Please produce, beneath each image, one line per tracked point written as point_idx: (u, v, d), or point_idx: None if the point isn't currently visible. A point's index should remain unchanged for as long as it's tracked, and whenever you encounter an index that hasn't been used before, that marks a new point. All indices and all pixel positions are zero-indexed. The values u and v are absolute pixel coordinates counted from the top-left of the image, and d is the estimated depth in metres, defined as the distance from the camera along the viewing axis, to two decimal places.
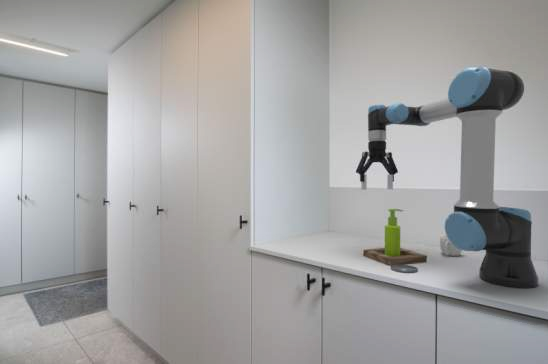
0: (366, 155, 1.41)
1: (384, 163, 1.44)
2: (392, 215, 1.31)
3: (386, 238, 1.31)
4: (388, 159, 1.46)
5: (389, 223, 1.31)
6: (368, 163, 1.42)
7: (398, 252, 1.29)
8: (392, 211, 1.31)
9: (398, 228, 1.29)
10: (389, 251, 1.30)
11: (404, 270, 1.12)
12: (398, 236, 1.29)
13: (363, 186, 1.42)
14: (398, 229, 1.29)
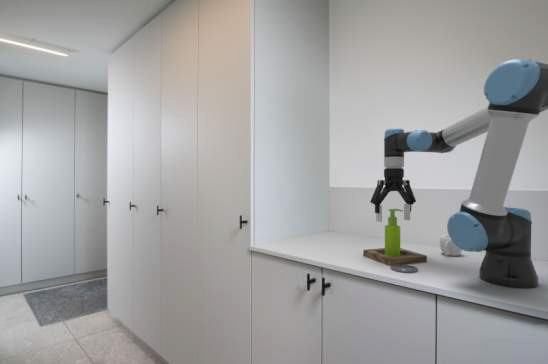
0: (382, 184, 1.28)
1: (401, 192, 1.32)
2: (392, 215, 1.31)
3: (386, 238, 1.31)
4: (405, 187, 1.34)
5: (389, 223, 1.31)
6: (384, 193, 1.29)
7: (398, 252, 1.29)
8: (392, 211, 1.31)
9: (398, 228, 1.29)
10: (389, 251, 1.30)
11: (404, 270, 1.12)
12: (398, 236, 1.29)
13: (378, 218, 1.29)
14: (398, 229, 1.29)
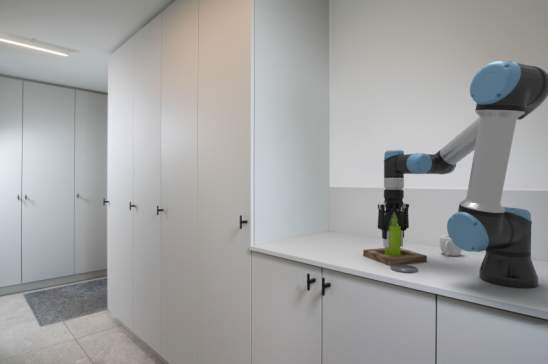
0: (383, 208, 1.28)
1: (398, 214, 1.31)
2: (392, 215, 1.31)
3: None
4: (403, 211, 1.33)
5: (389, 223, 1.31)
6: (387, 217, 1.29)
7: (398, 252, 1.29)
8: None
9: (398, 228, 1.29)
10: (389, 250, 1.30)
11: (404, 270, 1.12)
12: (398, 236, 1.29)
13: (385, 243, 1.30)
14: (398, 229, 1.29)
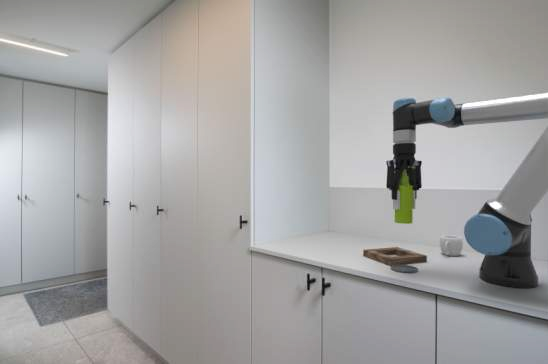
0: (392, 165, 1.13)
1: (409, 172, 1.16)
2: (403, 173, 1.15)
3: None
4: (415, 169, 1.18)
5: (400, 182, 1.15)
6: (397, 174, 1.14)
7: (410, 214, 1.14)
8: None
9: (410, 187, 1.14)
10: (399, 213, 1.14)
11: (404, 270, 1.12)
12: (410, 196, 1.14)
13: (395, 205, 1.15)
14: (410, 188, 1.14)
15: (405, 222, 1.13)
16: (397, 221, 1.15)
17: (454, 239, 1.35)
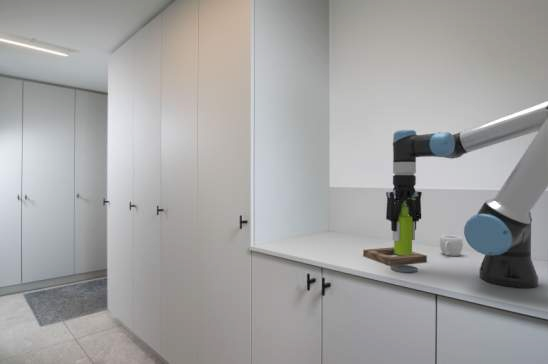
0: (392, 197, 1.13)
1: (409, 203, 1.16)
2: (403, 204, 1.16)
3: None
4: (415, 199, 1.18)
5: None
6: (397, 206, 1.14)
7: (410, 246, 1.14)
8: None
9: (410, 218, 1.14)
10: (399, 244, 1.14)
11: (404, 270, 1.12)
12: (410, 228, 1.14)
13: (395, 236, 1.15)
14: (410, 220, 1.14)
15: (405, 254, 1.13)
16: (397, 252, 1.15)
17: (454, 239, 1.35)
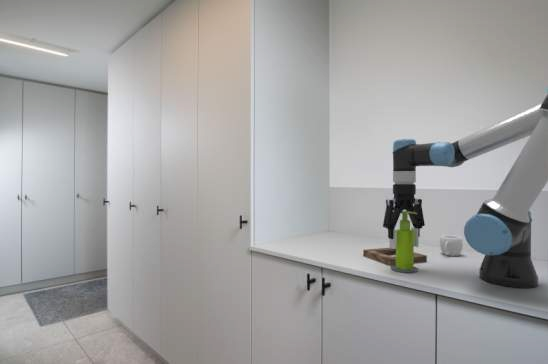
0: (392, 204, 1.13)
1: None
2: (405, 218, 1.15)
3: (398, 244, 1.15)
4: (416, 207, 1.18)
5: (401, 227, 1.15)
6: (396, 214, 1.14)
7: (411, 260, 1.14)
8: (405, 214, 1.15)
9: (411, 233, 1.14)
10: (401, 258, 1.14)
11: (404, 270, 1.12)
12: (411, 242, 1.14)
13: (392, 244, 1.14)
14: (411, 234, 1.14)
15: (406, 268, 1.13)
16: (398, 266, 1.15)
17: (454, 239, 1.35)
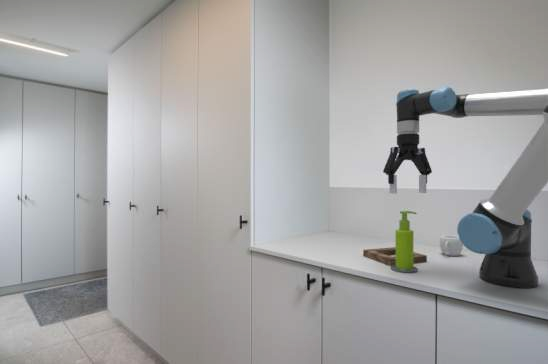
0: (396, 151, 1.14)
1: (416, 161, 1.19)
2: (404, 218, 1.15)
3: (397, 244, 1.15)
4: (420, 156, 1.20)
5: (401, 227, 1.15)
6: (398, 161, 1.15)
7: (411, 260, 1.14)
8: (404, 214, 1.15)
9: (411, 233, 1.14)
10: (401, 258, 1.14)
11: (404, 270, 1.12)
12: (411, 242, 1.14)
13: (392, 189, 1.15)
14: (411, 234, 1.14)
15: (406, 268, 1.13)
16: (398, 267, 1.15)
17: (454, 239, 1.35)
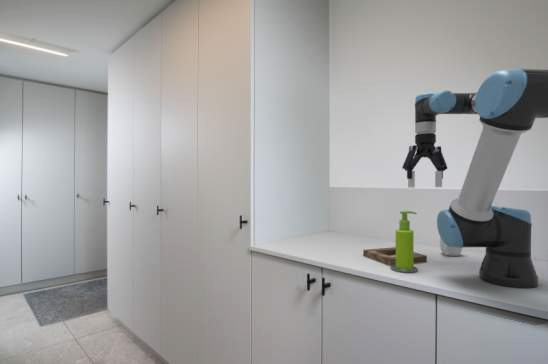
0: (414, 149, 1.27)
1: (433, 158, 1.31)
2: (404, 218, 1.15)
3: (397, 244, 1.15)
4: (436, 154, 1.32)
5: (401, 227, 1.15)
6: (416, 158, 1.28)
7: (411, 260, 1.14)
8: (404, 214, 1.15)
9: (411, 233, 1.14)
10: (401, 258, 1.14)
11: (404, 270, 1.12)
12: (411, 242, 1.14)
13: (410, 184, 1.28)
14: (411, 234, 1.14)
15: (406, 268, 1.13)
16: (398, 267, 1.15)
17: None
